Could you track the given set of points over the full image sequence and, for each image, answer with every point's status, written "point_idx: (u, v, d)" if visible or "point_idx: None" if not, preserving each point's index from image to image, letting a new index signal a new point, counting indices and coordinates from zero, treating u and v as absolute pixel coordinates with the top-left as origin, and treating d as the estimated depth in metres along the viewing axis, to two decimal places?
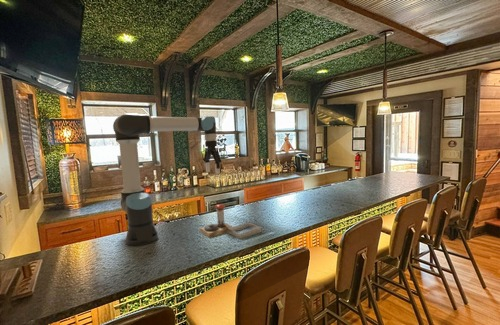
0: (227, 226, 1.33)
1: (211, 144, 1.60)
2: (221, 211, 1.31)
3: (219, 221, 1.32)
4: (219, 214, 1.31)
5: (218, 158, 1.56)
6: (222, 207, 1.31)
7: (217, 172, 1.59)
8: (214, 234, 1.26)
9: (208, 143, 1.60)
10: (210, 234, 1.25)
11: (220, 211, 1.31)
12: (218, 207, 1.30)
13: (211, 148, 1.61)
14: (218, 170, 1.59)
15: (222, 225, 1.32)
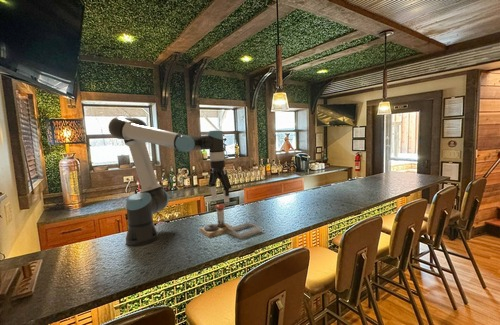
0: (227, 226, 1.33)
1: (218, 165, 1.27)
2: (221, 211, 1.31)
3: (219, 221, 1.32)
4: (219, 214, 1.31)
5: (227, 183, 1.24)
6: (222, 207, 1.31)
7: (226, 200, 1.26)
8: (214, 234, 1.26)
9: (214, 164, 1.27)
10: (210, 234, 1.25)
11: (220, 211, 1.31)
12: (218, 207, 1.30)
13: (218, 170, 1.28)
14: (227, 198, 1.27)
15: (222, 225, 1.32)
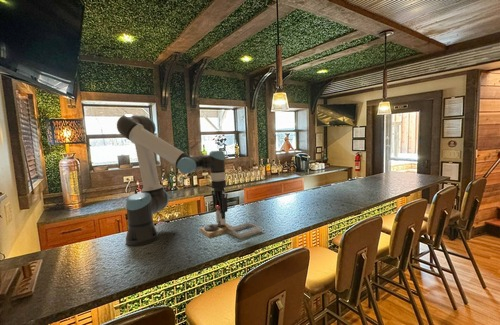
0: (227, 226, 1.33)
1: (219, 186, 1.28)
2: None
3: (219, 221, 1.32)
4: (219, 214, 1.31)
5: (225, 207, 1.28)
6: None
7: (222, 223, 1.31)
8: (214, 234, 1.26)
9: (215, 184, 1.28)
10: (210, 234, 1.25)
11: (220, 211, 1.31)
12: (218, 207, 1.30)
13: (219, 190, 1.29)
14: (223, 220, 1.32)
15: (222, 225, 1.32)
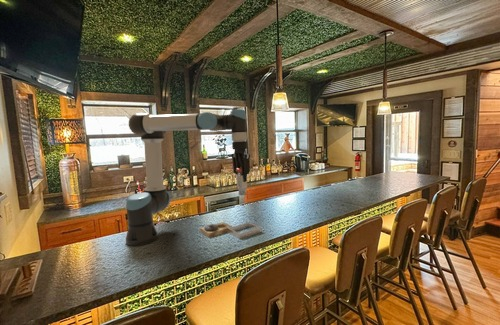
0: (227, 226, 1.33)
1: (241, 146, 1.21)
2: None
3: (240, 185, 1.25)
4: (240, 177, 1.24)
5: (247, 169, 1.21)
6: None
7: (244, 186, 1.24)
8: (214, 234, 1.26)
9: (237, 145, 1.21)
10: (210, 234, 1.25)
11: None
12: (239, 169, 1.23)
13: (241, 151, 1.22)
14: (245, 184, 1.25)
15: (243, 189, 1.25)
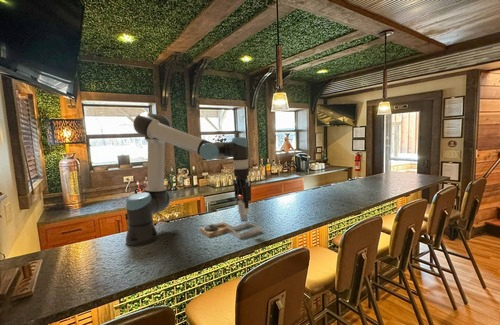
0: (227, 226, 1.33)
1: (242, 174, 1.22)
2: None
3: (242, 211, 1.26)
4: (242, 204, 1.26)
5: (248, 196, 1.22)
6: None
7: (245, 213, 1.25)
8: (214, 234, 1.26)
9: (238, 172, 1.22)
10: (210, 234, 1.25)
11: None
12: (241, 197, 1.25)
13: (242, 178, 1.24)
14: (247, 210, 1.26)
15: (245, 216, 1.26)
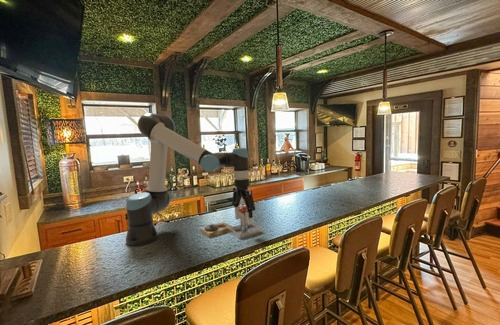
0: (227, 226, 1.33)
1: (243, 184, 1.23)
2: (244, 213, 1.26)
3: (242, 224, 1.27)
4: (242, 216, 1.26)
5: (252, 205, 1.21)
6: (246, 209, 1.26)
7: (249, 222, 1.23)
8: (214, 234, 1.26)
9: (239, 183, 1.23)
10: (210, 234, 1.25)
11: (243, 213, 1.26)
12: (241, 209, 1.25)
13: (243, 189, 1.24)
14: (251, 219, 1.24)
15: (245, 228, 1.27)
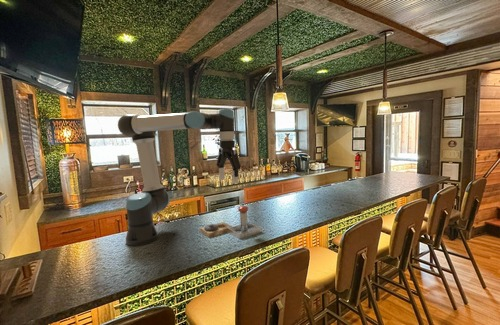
0: (227, 226, 1.33)
1: (228, 145, 1.24)
2: (244, 214, 1.26)
3: (242, 224, 1.27)
4: (242, 217, 1.26)
5: (237, 163, 1.20)
6: (246, 209, 1.26)
7: (235, 181, 1.23)
8: (214, 234, 1.26)
9: (224, 144, 1.24)
10: (210, 234, 1.25)
11: (243, 214, 1.26)
12: (242, 209, 1.25)
13: (228, 150, 1.25)
14: (236, 179, 1.23)
15: (245, 228, 1.27)
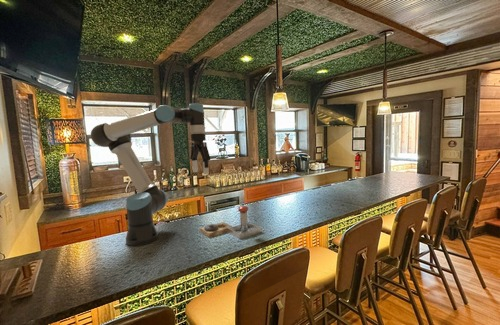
0: (227, 226, 1.33)
1: (198, 138, 1.29)
2: (245, 214, 1.26)
3: (242, 224, 1.27)
4: (242, 217, 1.26)
5: (206, 155, 1.26)
6: (246, 209, 1.26)
7: (205, 172, 1.28)
8: (214, 234, 1.26)
9: (194, 136, 1.29)
10: (210, 234, 1.25)
11: (244, 214, 1.26)
12: (242, 209, 1.25)
13: (198, 143, 1.31)
14: (207, 170, 1.29)
15: (245, 228, 1.27)
